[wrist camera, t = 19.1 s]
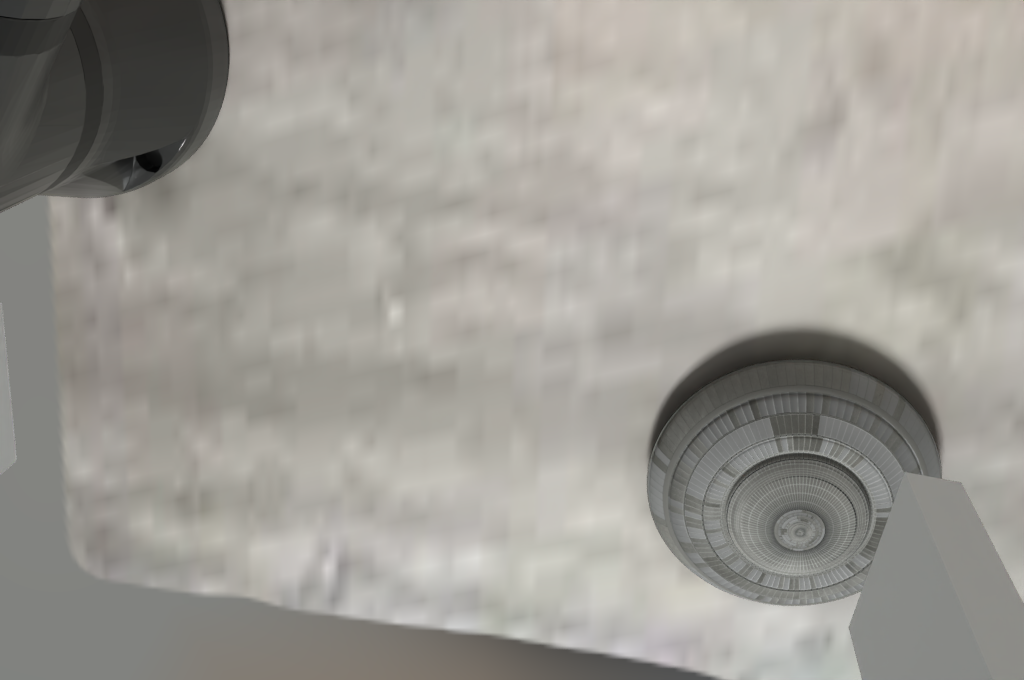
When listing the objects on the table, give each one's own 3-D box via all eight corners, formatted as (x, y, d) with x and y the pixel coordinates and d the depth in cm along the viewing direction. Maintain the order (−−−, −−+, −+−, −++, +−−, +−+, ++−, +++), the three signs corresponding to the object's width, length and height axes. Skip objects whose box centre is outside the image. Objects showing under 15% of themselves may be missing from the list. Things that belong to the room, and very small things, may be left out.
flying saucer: (706, 309, 50) (710, 354, 45) (988, 402, 50) (1023, 457, 45) (610, 537, 56) (605, 598, 51) (859, 620, 56) (878, 689, 51)
